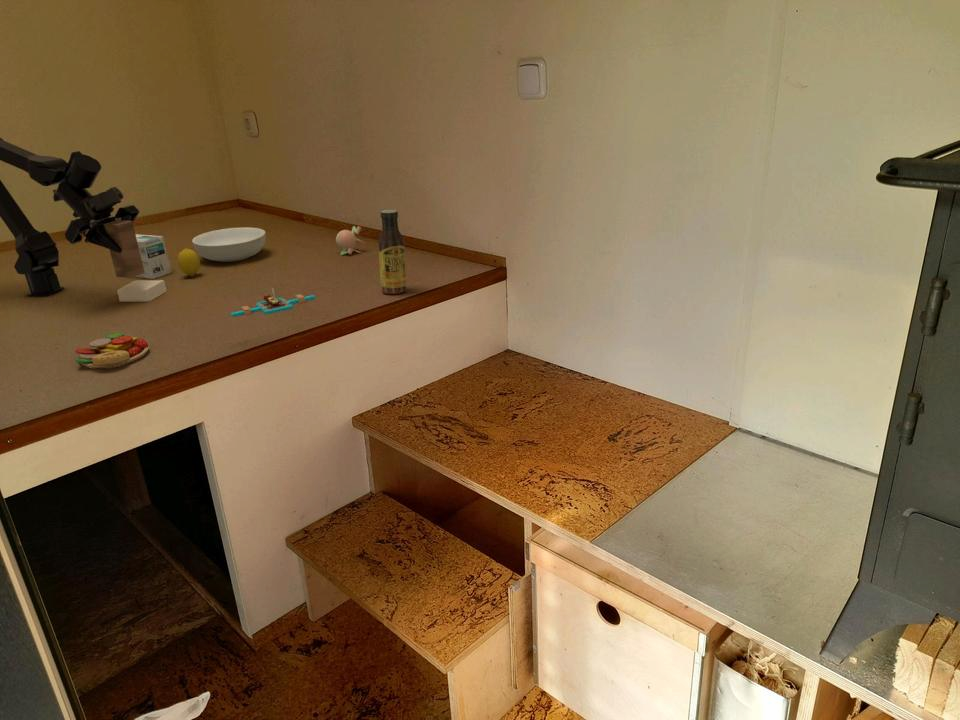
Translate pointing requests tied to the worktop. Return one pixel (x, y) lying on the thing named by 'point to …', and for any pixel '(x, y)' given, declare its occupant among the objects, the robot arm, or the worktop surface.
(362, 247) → the worktop surface
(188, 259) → the lemon
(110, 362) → the toy food set
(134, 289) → the cream plinth
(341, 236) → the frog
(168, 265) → the light bulb box
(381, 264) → the sauce bottle
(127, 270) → the walnut column
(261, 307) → the multicoloured piece
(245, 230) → the serving bowl
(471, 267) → the worktop surface
